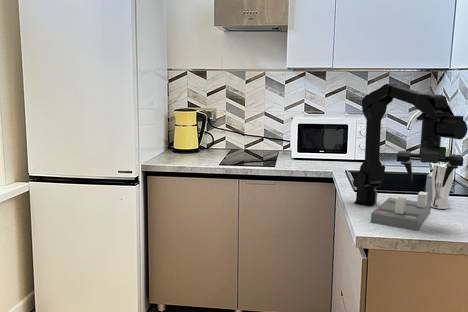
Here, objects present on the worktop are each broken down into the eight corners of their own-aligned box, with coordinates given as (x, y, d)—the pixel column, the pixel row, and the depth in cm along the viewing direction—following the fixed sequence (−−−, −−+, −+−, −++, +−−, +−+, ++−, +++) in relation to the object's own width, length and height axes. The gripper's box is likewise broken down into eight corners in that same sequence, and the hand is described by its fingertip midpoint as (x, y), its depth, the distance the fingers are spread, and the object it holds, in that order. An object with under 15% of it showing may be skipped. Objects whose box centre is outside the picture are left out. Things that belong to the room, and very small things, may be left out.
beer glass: (442, 205, 169) (447, 164, 168) (453, 209, 163) (458, 167, 161) (424, 204, 168) (429, 164, 167) (435, 209, 162) (440, 166, 160)
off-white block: (416, 206, 154) (418, 193, 153) (419, 204, 158) (420, 191, 157) (424, 207, 153) (425, 195, 152) (426, 205, 156) (427, 192, 156)
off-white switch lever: (394, 212, 146) (395, 199, 146) (397, 210, 150) (398, 196, 149) (402, 214, 145) (403, 200, 144) (405, 211, 149) (406, 198, 148)
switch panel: (370, 222, 147) (371, 212, 146) (389, 205, 167) (389, 197, 166) (417, 230, 140) (417, 220, 139) (430, 211, 160) (431, 203, 159)
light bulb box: (430, 197, 180) (432, 170, 178) (448, 199, 176) (451, 172, 175) (423, 202, 171) (426, 174, 170) (443, 206, 168) (446, 177, 166)
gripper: (397, 136, 138) (393, 187, 140) (466, 140, 130) (461, 194, 133) (399, 133, 148) (396, 180, 150) (464, 136, 141) (459, 186, 143)
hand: (427, 185), depth 144 cm, fingers open, 9 cm apart
